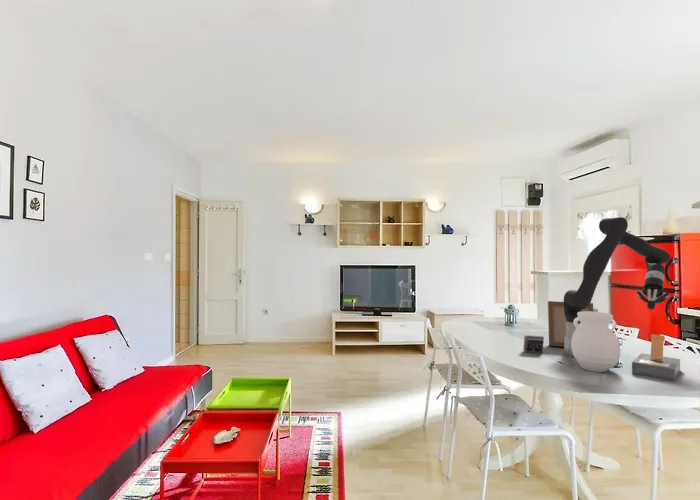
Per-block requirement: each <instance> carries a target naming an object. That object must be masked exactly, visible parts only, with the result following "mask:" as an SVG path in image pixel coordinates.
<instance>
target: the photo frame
mask: <svg viewBox="0 0 700 500" xmlns="http://www.w3.org/2000/svg"><path fill="white" fill-rule="evenodd" d="M593 309H594V303H593V302H591V303H590V304H589V306H588V307H587V308H585V309H582V311H592V312H593ZM547 315H548V316H547V318H548V319H547V323H548V324H547V326H548V346H549V347H559V348H560V347H561V348H564V336H566V317H565V314H564V301H556V300H555V301H547Z"/></svg>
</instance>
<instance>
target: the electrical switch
mask: <svg viewBox="0 0 700 500" xmlns="http://www.w3.org/2000/svg"><path fill="white" fill-rule="evenodd" d="M523 337H524V338H523V352H525V353H526V354H539V355H543V353H544V352H543V351H544V341H545V340H544V339H545V337H544V336H543V335H534V334H533V335H531V334H526V335H525V334H524V336H523Z"/></svg>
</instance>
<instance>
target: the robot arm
mask: <svg viewBox="0 0 700 500" xmlns="http://www.w3.org/2000/svg"><path fill="white" fill-rule="evenodd" d="M628 226H629V223H628V220H627V218H625V217H622V216H610V217H608V216H607V217H605V218H602V219H601V220H600V221H599V224H598V229H599V230H600V232H601V233H602V234H603V235H605V237H604V239H603V240H602V241H601V242H600V243H599V244H598V245H597V246H595V247H594V248H593V249H592V250H591V251H590V252H589V253H588V255H587V257H586V259H585V261H584V264H583V267H582V275H583V276H582V280H581V283H580V286H579V288H578V289H570V290H567V291H566V292H565V293H564V295H563V302H564V314H565V317H566V336H564V347H563V349H564V350H563V351H564V355H565V356H567V357H569V358H575V357H574V355H573V352H572V349H571V340H572V336H573V333H574V331H575V330H576V327H575V326H574V323H573V321H574V319H575V318H577V317H578V315H577V313H578V312H581V311H582V309H585V308H587V307H588V306H589V304H590V303H592V300H593V297H594V294H595V291H596V288H597V286H598V285H599V281H600V280H601V277H602V276H603V273H604V272H605V270H606V268H607V265H608V264H609V261H610V260H611V257H612V255H613V253H614V252H615V250H616V248H617V246H618V245H619V243H621V244H623V245H625V246H626V247H628V248H629V249H631V250H632V251H634V252H635V253H636V254H637V255H639V256H640V257H644V258H643V259H644V263H645V267H646V274H645V278H644V283H643V284H644V285H643V289H641V291H639V290H638V291H636V295H637V297H638V298H639V299H640V300H642V302H643V303H645V304H647V305H646V306H647V309H648V310H651V311H653V310H655V309H656V304H659V305H660V304H661V303H663V302H665V301H666V300H668V299H669V298H670V293H669V292H665V291H664V285H665V269H666V268H665V266H664V264H667V263H668V262H670V261H671V254H670V253H669V252H668V251H667V250H665V249H663V248H661V247H658V246H655V245H652V244H651V243H649V242H648V241H646V240H645V239H644V238H641V237H639V236H638V235H635V234H633V233H629V231H628ZM577 324H578V326H579V325H580V324H581V322H580V321H578V323H577Z"/></svg>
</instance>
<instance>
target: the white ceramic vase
mask: <svg viewBox="0 0 700 500" xmlns="http://www.w3.org/2000/svg"><path fill="white" fill-rule="evenodd" d="M577 315H578V317H577V318H575V319H574V321H573V323H574V326H575V327H576V330H575V331H574V333H573V336H572V340H571V349H572V352H573V355H574V357H573V358H574V359H575V360H576V361H577V363H578V365H580V367H581V368H582V369H583V370H585V371H590V372H595V373H605V372H607V371H609V370H611V369H612V368H614V367H615V366H616V365H617V364H618V363H619V361H620V359H621V347H620V342H619V339H618V337H617V336H616V334H615V333H614V330H615V329H616V327H617V322H616V320H615V319H613V318H614V316H613V314H612V313H606V312H601V311H598V312H592V311H581V312H578V313H577ZM578 321H580V322H581V324H580V325H579V326H578V324H577V323H578Z"/></svg>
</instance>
